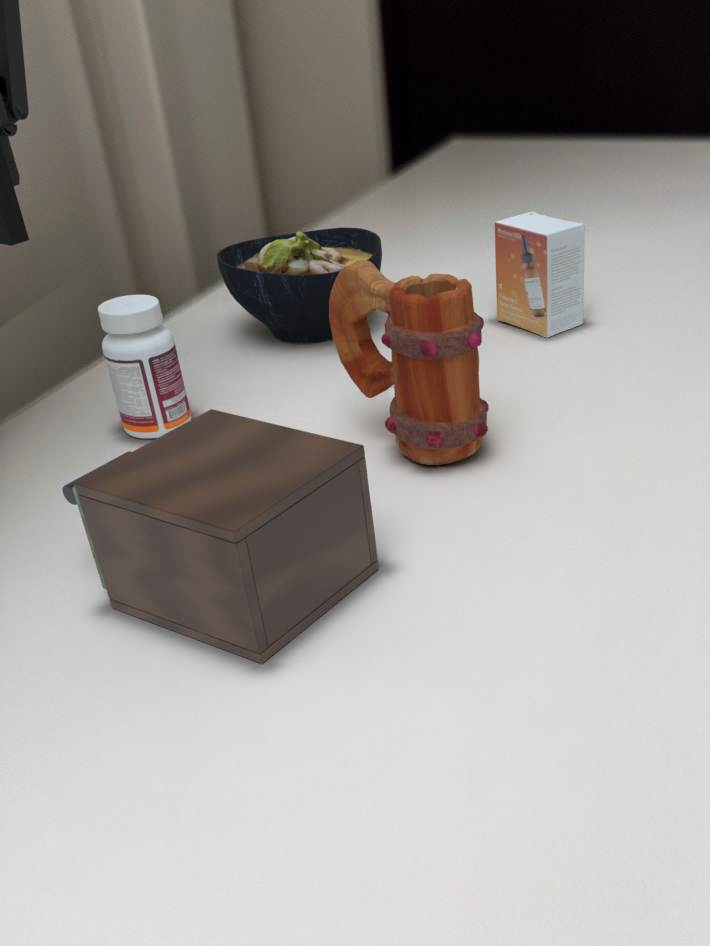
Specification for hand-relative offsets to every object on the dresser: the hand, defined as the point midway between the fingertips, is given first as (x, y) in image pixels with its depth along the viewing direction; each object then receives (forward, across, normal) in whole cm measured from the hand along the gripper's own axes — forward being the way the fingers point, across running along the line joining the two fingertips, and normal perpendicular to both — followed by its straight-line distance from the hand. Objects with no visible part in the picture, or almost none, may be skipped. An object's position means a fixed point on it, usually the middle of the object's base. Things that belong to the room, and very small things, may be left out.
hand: (7, 240), depth 73 cm
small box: (+21, +51, -14) cm, 57 cm away
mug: (+21, +20, -19) cm, 34 cm away
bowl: (+21, +39, +8) cm, 45 cm away
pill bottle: (+21, +13, +5) cm, 25 cm away
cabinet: (+20, -4, -21) cm, 30 cm away
